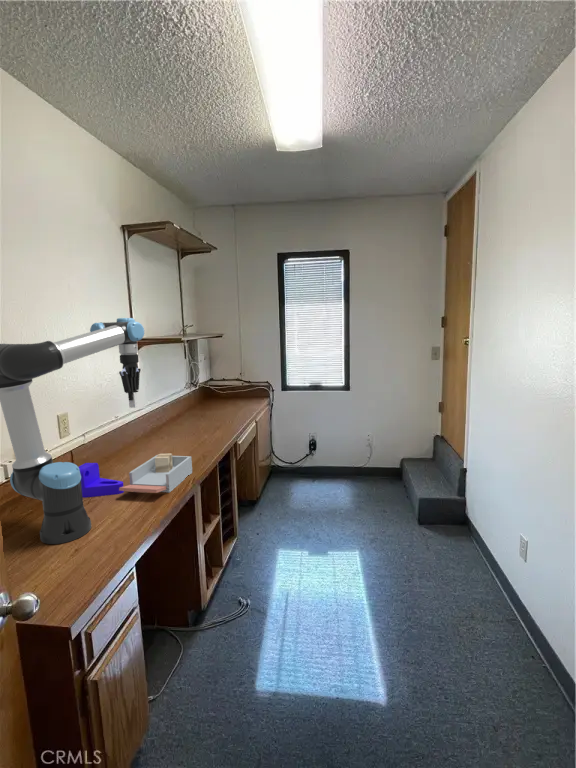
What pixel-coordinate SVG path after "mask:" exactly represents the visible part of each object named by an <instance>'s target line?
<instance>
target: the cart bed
mask: <svg viewBox="0 0 576 768" xmlns="http://www.w3.org/2000/svg"><path fill="white" fill-rule="evenodd" d="M158 455H159V454H156V455H155V456H153V457H151V458H150V459H149V460H146V461H145V462H144V463H142V464H140V465H139V466H137V467H136V468H134V469H132V470H131V471H130V472H128V475H129V485H146V486H166V490H163V491H160V492H159V493H171V492H172V491H174V489H175V488H176V487H178V486H179V485H180V484H181V483H182V482H183V481H184V480H186V479H187V478H188V477H189V476H190V475H191V474H193V465H192V464H193V461H192V456H189V455H188V456H187V455H186V456H185V455H172V463H173V468H172V469H171V471H169V472H161V473H156V466H155V457H156V456H158ZM188 475H189V476H188ZM187 476H188V477H187ZM186 477H187V478H186ZM185 478H186V479H185Z"/></svg>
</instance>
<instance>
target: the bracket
mask: <svg viewBox="0 0 576 768" xmlns="http://www.w3.org/2000/svg"><path fill="white" fill-rule="evenodd" d="M78 467H79V470H80V474H81V486H82V496H83V498H86V499H87V498H95V497H104V496H113V495H121V494H124V492H125V491H119V488H120V487H124V486H125V485H124V481H121V480H116V479H109V478H103V477H101V476H100V468H99V467H100V466H99V463H98V462H85V463H83V464H81V465H79V466H78Z"/></svg>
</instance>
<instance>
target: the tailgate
mask: <svg viewBox="0 0 576 768" xmlns="http://www.w3.org/2000/svg"><path fill="white" fill-rule="evenodd" d="M123 486H124V487H120V488H119V491H124V492H133V493H154V494H155V493H161V492H160V491H163V490H166V486H146V485H130V484H128V485H123Z"/></svg>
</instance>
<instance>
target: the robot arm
mask: <svg viewBox="0 0 576 768" xmlns="http://www.w3.org/2000/svg"><path fill="white" fill-rule="evenodd" d="M144 336H145V327H144V326H143V324H142V323H141V322H139V321H136V320H135V319H134V318H133V317H119V318H116V322H115V321H113V322H94V323H92V324H91V326H90V329H89V332H86V333H82V334H80V335H75V336H73V337H69V338H68V337H67V338H65V339H62V340H57V341H51V340H46V341H42V342H37V343H0V407H1V410H2V414H3V417H4V421H5V425H6V427H7V431H8V436H9V439H10V442H11V443H10V444H11V446H12V449H13V453H14V458H15V461H14V462H13V463H12V465H11V467H12V473H11V474H10V478H9V483H10V485H11V487H12V489H13V490H14V492H16V493H18V494H19V495H21V496H24V497H27V498H31V499H36V500H38V501H42V510H43V519H42V522H41V528H40V530H39V537H40V541H41V542H42V543H43V544H48V545H57V544H58V545H59V544H65V543H68V542H69V543H70V542H71V541H74V540H77V539H79V538H81V537H84V535H86V534H88V533H89V532H90V530H91V529H92V520H91V518H90V517H89V515H88V513H87V511H86V509H85V506H84V497H83V496H82V486H81V474H80V470H79V466H78V465H77V464H75V463H74V462H69V461H63V462H62V461H57V462H54V461H53V457H52V455H51V453H49V452H47V451H46V450H45V447H44V442H43V439H42V435H41V432H40V431H41V430H40V427H39V423H38V418H37V415H36V412H35V408H34V404H33V399H32V395H31V391H30V388H29V387H30V386H31V384H32V383H33V382H34V381H33V379H37V378H39V377H42V376H45V375H47V374H50V373H52V372H55V371H58V370H61V369H63V367H64V365H65V364H68V363H71V362H73V361H77V360H79V359H82V358H85V357H88V356H91V355H93V354H95V353H96V354H97V353H99V352H102V351H106V350H108V349H111V348H114V347H117V346H118V353H119V354H120V355H119V362H120V363H119V364H122V370H121V371H119V373H118V374H119V376H120V378H121V382H122V386H123V391H124V393H125V394H127V396H128V397H127V398H128V405H129V409H131V408H133V409H135V408H137V407H138V404H137V403H138V402H137V393H138V392H139V389H140V373H141V368H138V364H137V363H139V362H140V361H139V354H138V352H139V351H138V350H139V349H138V348H139V347H138V341H141V340H142V339H143V338H144Z"/></svg>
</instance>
